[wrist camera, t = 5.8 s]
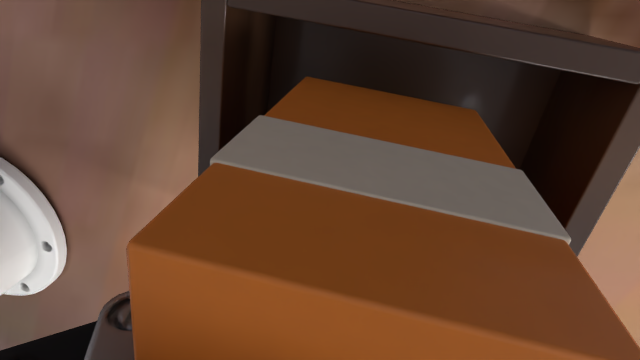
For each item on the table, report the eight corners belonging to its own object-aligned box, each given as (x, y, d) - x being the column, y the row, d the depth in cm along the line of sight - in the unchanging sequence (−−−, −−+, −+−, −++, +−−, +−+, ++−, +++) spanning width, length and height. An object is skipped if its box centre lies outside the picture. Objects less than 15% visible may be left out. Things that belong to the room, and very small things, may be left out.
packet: (304, 73, 14) (118, 238, 5) (479, 108, 13) (671, 375, 4) (276, 274, 18) (147, 579, 9) (409, 306, 17) (425, 668, 8)
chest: (267, -23, 19) (200, -29, 13) (590, 36, 17) (690, 60, 11) (246, 218, 25) (195, 292, 19) (482, 277, 24) (509, 377, 18)
